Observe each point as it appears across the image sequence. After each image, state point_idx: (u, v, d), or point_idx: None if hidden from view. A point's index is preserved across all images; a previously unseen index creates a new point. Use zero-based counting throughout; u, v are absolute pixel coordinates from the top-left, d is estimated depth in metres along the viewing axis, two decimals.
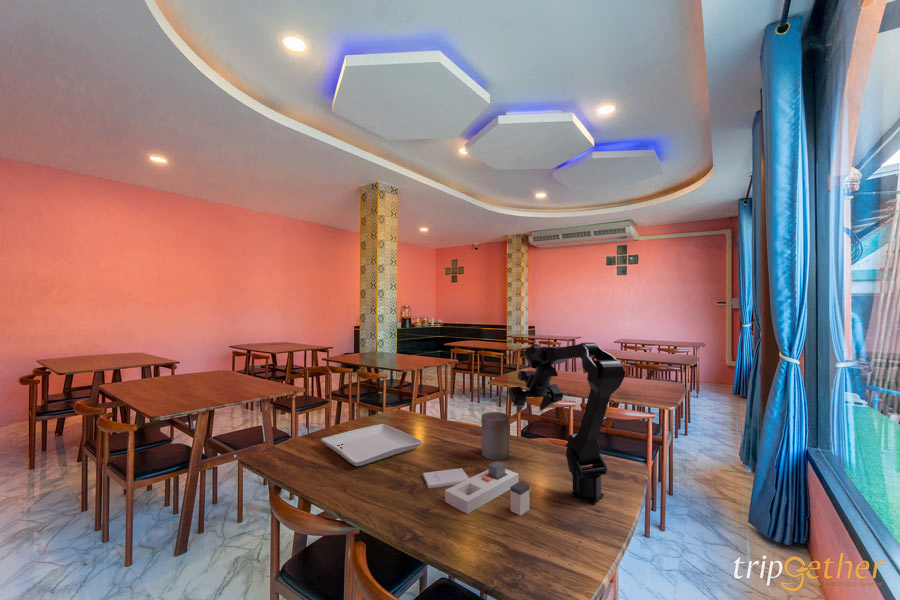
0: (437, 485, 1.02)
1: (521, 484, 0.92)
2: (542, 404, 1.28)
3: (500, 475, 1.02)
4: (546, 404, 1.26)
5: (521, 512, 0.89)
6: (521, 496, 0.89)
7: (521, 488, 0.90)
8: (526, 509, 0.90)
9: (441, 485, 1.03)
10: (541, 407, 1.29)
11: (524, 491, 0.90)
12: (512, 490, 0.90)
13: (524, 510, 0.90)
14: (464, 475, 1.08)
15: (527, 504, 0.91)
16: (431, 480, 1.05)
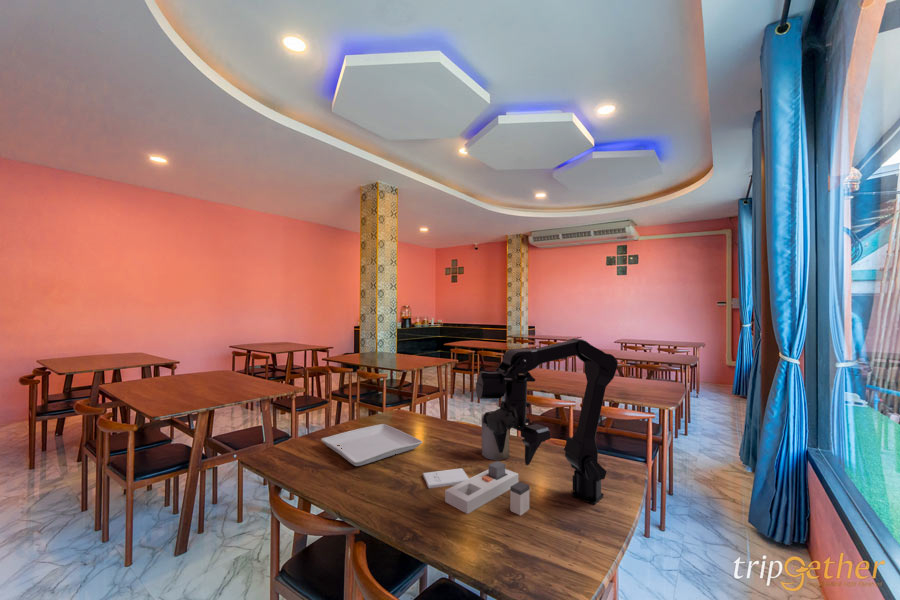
0: (437, 485, 1.02)
1: (521, 484, 0.92)
2: (501, 442, 0.97)
3: (500, 475, 1.02)
4: (504, 435, 0.98)
5: (521, 512, 0.89)
6: (521, 496, 0.89)
7: (521, 488, 0.90)
8: (526, 509, 0.90)
9: (441, 485, 1.03)
10: (502, 447, 0.97)
11: (524, 491, 0.90)
12: (512, 490, 0.90)
13: (524, 510, 0.90)
14: (464, 475, 1.08)
15: (527, 504, 0.91)
16: (431, 480, 1.05)
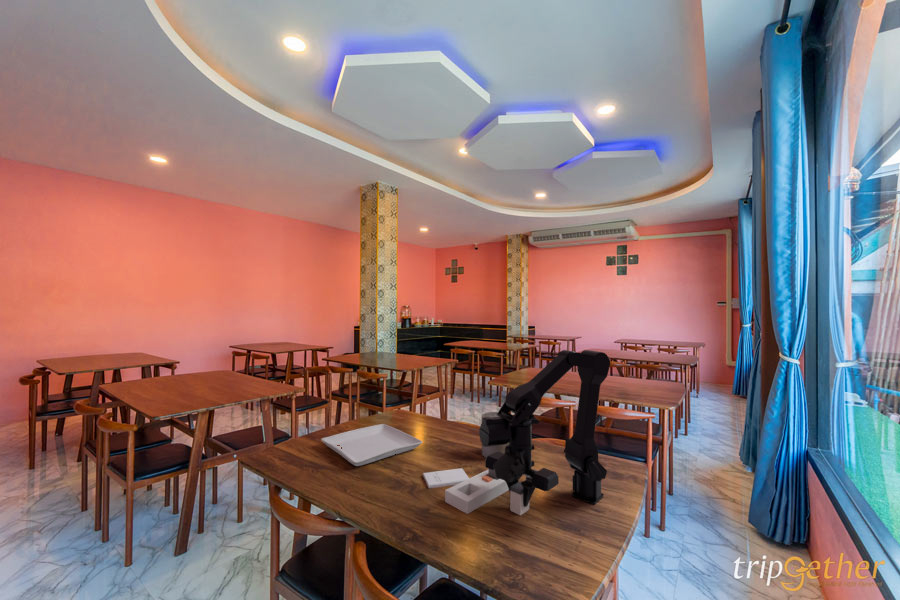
0: (437, 485, 1.02)
1: None
2: None
3: None
4: (517, 482, 0.94)
5: (521, 512, 0.89)
6: (521, 496, 0.89)
7: (521, 488, 0.90)
8: (526, 509, 0.90)
9: (441, 485, 1.03)
10: None
11: None
12: (512, 490, 0.90)
13: (524, 510, 0.90)
14: (464, 475, 1.08)
15: None
16: (431, 480, 1.05)
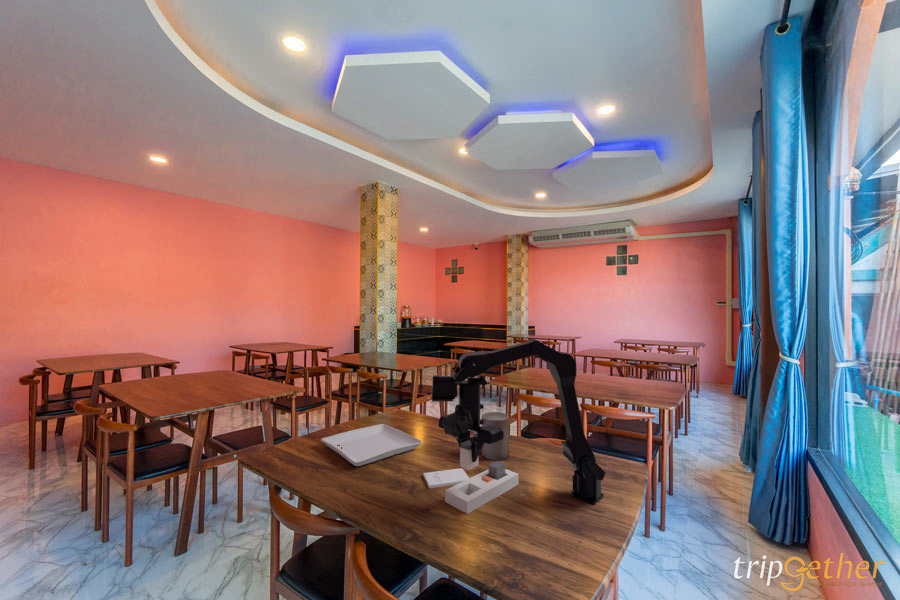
0: (438, 485, 1.02)
1: None
2: None
3: (500, 475, 1.02)
4: None
5: (469, 467, 0.93)
6: (469, 451, 0.93)
7: (470, 444, 0.94)
8: (475, 464, 0.95)
9: (442, 485, 1.03)
10: None
11: None
12: (461, 446, 0.95)
13: (472, 465, 0.94)
14: (464, 475, 1.08)
15: (476, 460, 0.95)
16: (432, 480, 1.05)
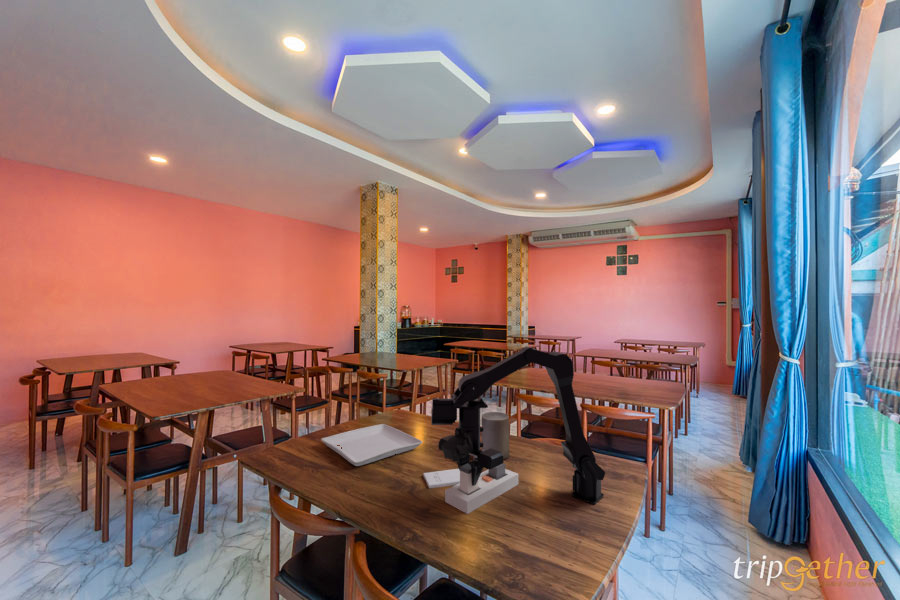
0: (438, 485, 1.02)
1: None
2: None
3: (500, 475, 1.02)
4: (468, 463, 0.98)
5: (469, 490, 0.93)
6: (469, 475, 0.93)
7: (470, 468, 0.94)
8: (475, 488, 0.95)
9: (442, 485, 1.03)
10: None
11: None
12: (461, 470, 0.95)
13: (472, 489, 0.94)
14: None
15: (476, 483, 0.95)
16: (432, 480, 1.05)
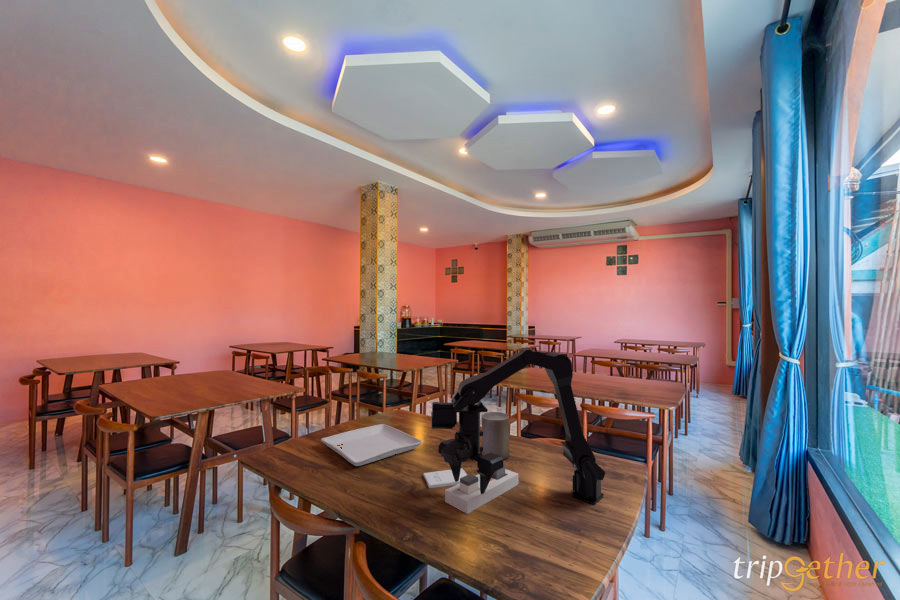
0: (438, 485, 1.02)
1: (471, 476, 0.96)
2: (456, 471, 0.99)
3: (500, 475, 1.02)
4: (460, 463, 1.00)
5: None
6: (469, 487, 0.93)
7: (469, 480, 0.94)
8: None
9: (442, 485, 1.03)
10: (457, 476, 0.99)
11: (472, 483, 0.94)
12: (461, 482, 0.95)
13: None
14: (465, 475, 1.08)
15: None
16: (432, 480, 1.05)
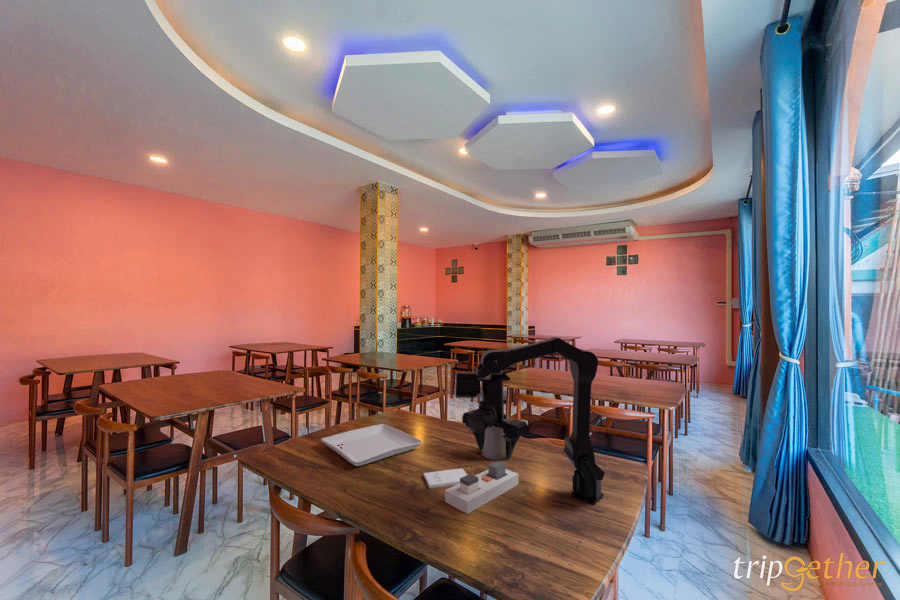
0: (438, 485, 1.02)
1: (471, 476, 0.96)
2: (481, 440, 1.01)
3: (500, 475, 1.02)
4: (483, 433, 1.02)
5: None
6: (469, 487, 0.93)
7: (469, 480, 0.94)
8: None
9: (442, 485, 1.03)
10: (482, 444, 1.01)
11: (472, 483, 0.94)
12: (461, 482, 0.95)
13: None
14: (465, 475, 1.08)
15: None
16: (432, 480, 1.05)
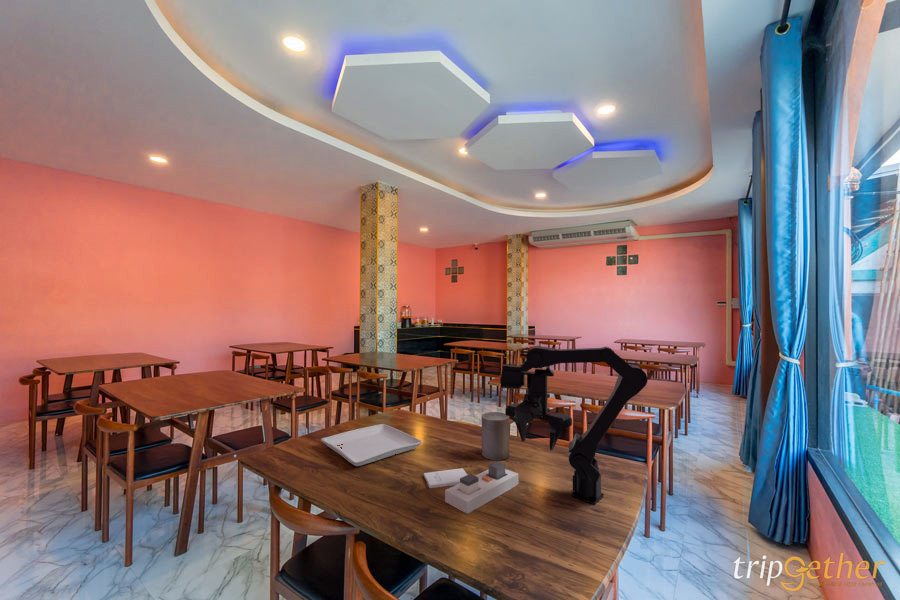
0: (438, 485, 1.02)
1: (471, 476, 0.96)
2: (523, 432, 1.06)
3: (500, 475, 1.02)
4: (525, 425, 1.07)
5: None
6: (469, 487, 0.93)
7: (469, 480, 0.94)
8: None
9: (442, 485, 1.03)
10: (524, 436, 1.06)
11: (472, 483, 0.94)
12: (461, 482, 0.95)
13: None
14: (465, 475, 1.08)
15: None
16: (432, 480, 1.05)
